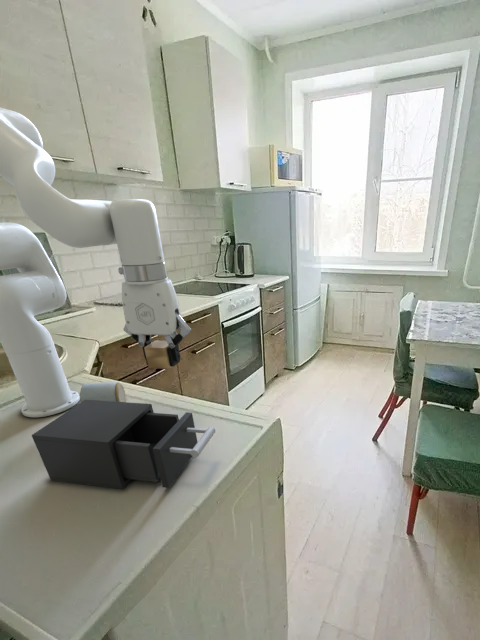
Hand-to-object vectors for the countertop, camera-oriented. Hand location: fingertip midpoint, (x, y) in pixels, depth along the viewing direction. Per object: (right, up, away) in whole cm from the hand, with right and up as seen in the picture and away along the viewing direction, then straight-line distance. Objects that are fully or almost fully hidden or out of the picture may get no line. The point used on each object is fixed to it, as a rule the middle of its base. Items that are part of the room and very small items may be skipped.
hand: (163, 362), depth 74 cm
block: (0, 0, 0) cm, 0 cm away
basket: (+4, -19, -10) cm, 22 cm away
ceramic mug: (-18, -11, +12) cm, 24 cm away
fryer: (-8, -19, -7) cm, 22 cm away
